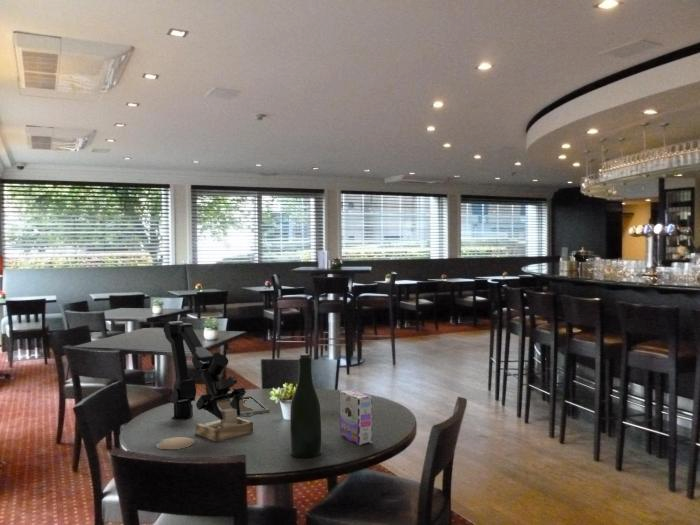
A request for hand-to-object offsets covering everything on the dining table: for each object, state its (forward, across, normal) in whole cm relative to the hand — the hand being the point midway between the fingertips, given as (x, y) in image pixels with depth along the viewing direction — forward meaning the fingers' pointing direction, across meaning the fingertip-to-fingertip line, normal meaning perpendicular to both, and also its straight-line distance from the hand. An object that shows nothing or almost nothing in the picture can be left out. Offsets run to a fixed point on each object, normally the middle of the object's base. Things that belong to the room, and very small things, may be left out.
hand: (230, 417), depth 210 cm
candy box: (+31, +28, -21) cm, 46 cm away
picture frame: (-16, +24, +26) cm, 39 cm away
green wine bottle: (+29, +6, -20) cm, 36 cm away
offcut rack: (+2, 0, +8) cm, 8 cm away
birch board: (+4, 0, +6) cm, 7 cm away
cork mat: (0, -19, +9) cm, 21 cm away
